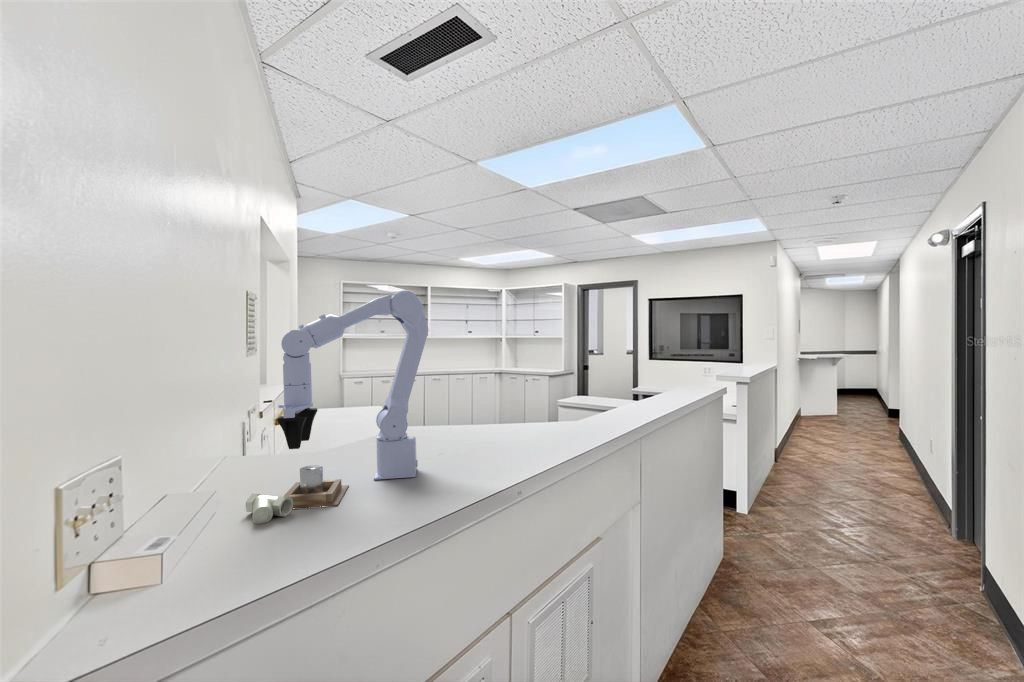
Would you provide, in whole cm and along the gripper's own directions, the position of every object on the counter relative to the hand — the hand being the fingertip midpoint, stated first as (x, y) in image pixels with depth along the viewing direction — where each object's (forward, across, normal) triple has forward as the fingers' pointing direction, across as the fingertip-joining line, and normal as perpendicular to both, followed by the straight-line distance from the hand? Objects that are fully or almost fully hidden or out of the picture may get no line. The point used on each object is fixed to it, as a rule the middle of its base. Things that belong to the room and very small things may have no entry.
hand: (299, 444), depth 106 cm
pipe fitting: (+10, +18, -2) cm, 20 cm away
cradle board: (+10, +8, +5) cm, 14 cm away
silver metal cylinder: (+9, +9, +5) cm, 13 cm away
